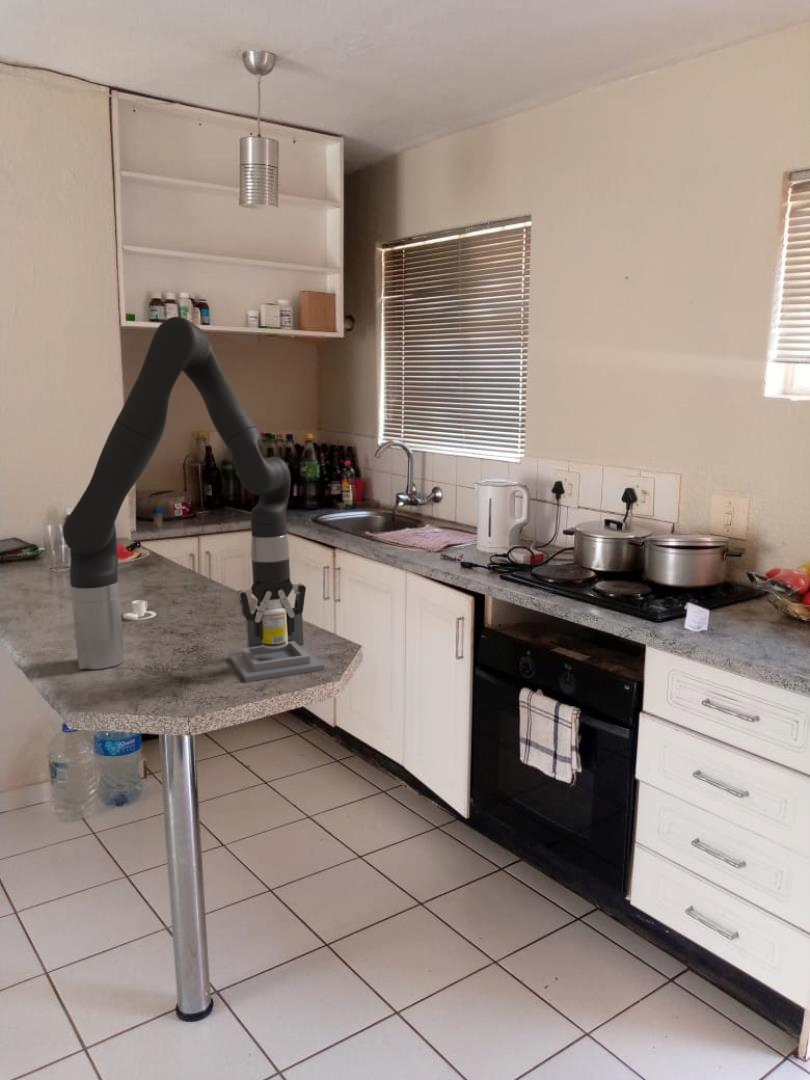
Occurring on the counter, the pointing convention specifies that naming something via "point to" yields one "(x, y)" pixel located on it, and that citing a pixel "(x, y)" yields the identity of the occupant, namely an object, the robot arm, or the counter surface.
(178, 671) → the counter surface
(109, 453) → the robot arm
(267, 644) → the supplement bottle
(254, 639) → the charging dock
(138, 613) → the teacup and saucer
